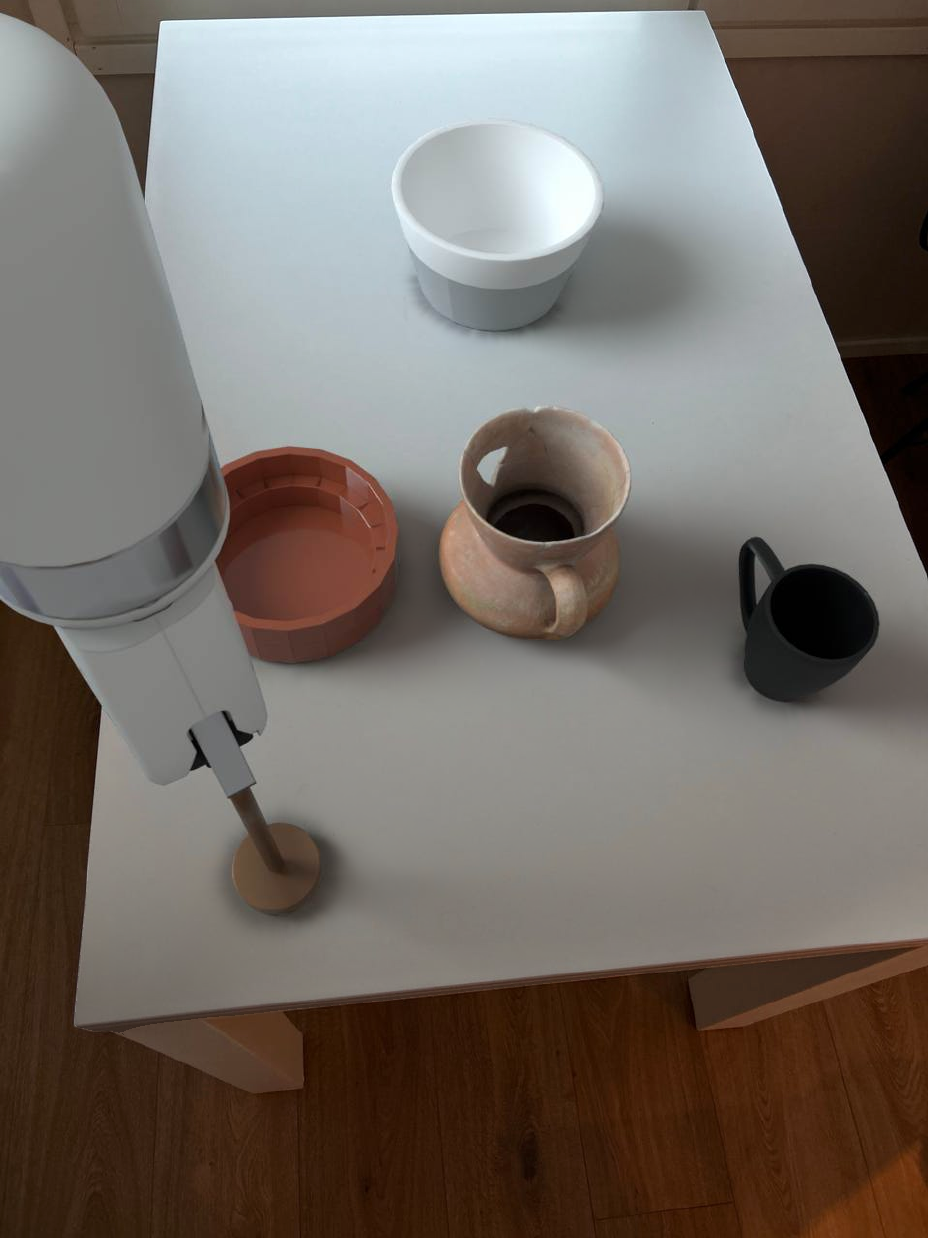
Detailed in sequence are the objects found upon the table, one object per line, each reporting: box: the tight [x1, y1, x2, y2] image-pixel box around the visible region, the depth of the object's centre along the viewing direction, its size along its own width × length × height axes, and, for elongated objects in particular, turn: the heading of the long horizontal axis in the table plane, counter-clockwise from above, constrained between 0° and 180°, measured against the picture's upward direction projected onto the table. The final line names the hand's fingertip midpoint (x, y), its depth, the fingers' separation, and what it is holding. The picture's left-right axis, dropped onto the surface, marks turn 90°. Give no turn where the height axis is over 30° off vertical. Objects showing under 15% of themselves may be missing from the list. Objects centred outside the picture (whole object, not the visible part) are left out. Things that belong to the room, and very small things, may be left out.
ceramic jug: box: [438, 404, 632, 641], centre depth 73 cm, size 18×14×14 cm
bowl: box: [390, 118, 605, 332], centre depth 91 cm, size 19×19×11 cm
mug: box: [738, 536, 880, 703], centre depth 73 cm, size 8×12×10 cm
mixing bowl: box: [215, 445, 400, 664], centre depth 76 cm, size 17×17×6 cm
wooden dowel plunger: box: [229, 787, 323, 916], centre depth 53 cm, size 6×6×32 cm
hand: (208, 728), depth 44 cm, fingers closed on wooden dowel plunger
